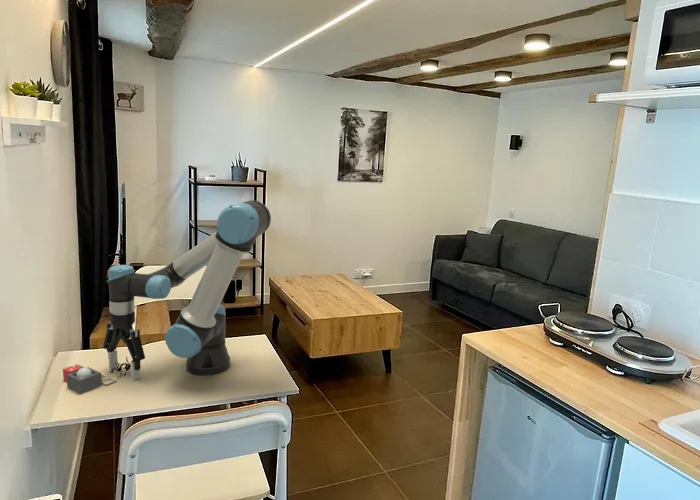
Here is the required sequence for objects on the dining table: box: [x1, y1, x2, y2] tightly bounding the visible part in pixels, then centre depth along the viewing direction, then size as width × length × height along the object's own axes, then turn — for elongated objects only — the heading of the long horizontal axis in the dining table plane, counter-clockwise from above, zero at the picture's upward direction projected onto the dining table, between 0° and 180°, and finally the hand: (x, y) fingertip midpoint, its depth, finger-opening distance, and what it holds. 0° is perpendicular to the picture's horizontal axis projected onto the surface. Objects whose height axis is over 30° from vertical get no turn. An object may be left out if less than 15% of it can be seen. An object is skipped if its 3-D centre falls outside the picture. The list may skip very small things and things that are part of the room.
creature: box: [106, 356, 131, 381], centre depth 163 cm, size 8×5×8 cm
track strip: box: [75, 363, 118, 387], centre depth 162 cm, size 22×4×1 cm, turn 60°
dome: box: [77, 367, 92, 379], centre depth 153 cm, size 4×4×5 cm
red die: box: [62, 364, 81, 383], centre depth 158 cm, size 4×4×4 cm
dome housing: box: [66, 366, 103, 395], centre depth 153 cm, size 7×7×4 cm
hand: (124, 373), depth 164 cm, fingers open, 11 cm apart
